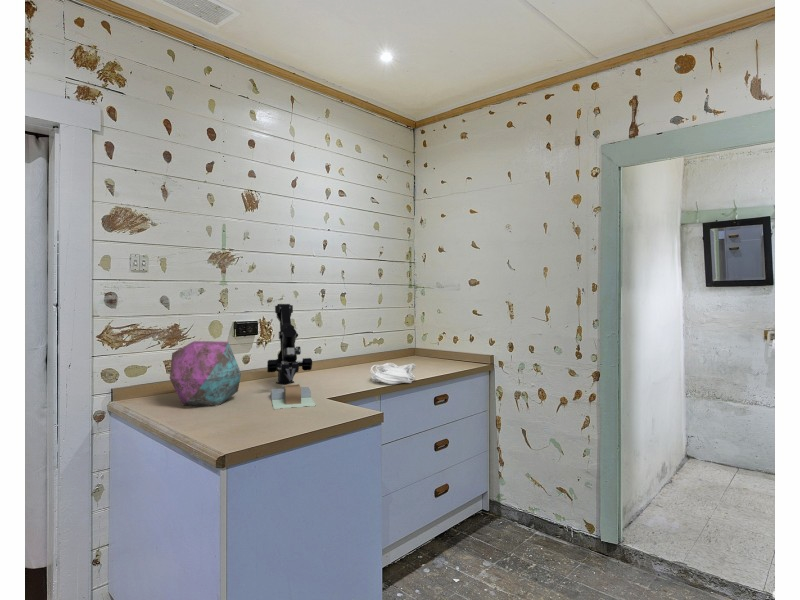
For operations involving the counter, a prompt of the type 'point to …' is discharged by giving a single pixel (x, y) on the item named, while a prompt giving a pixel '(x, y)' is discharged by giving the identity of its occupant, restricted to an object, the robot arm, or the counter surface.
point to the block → (292, 394)
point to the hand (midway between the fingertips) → (291, 381)
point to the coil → (393, 373)
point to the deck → (279, 393)
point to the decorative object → (205, 373)
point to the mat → (281, 404)
